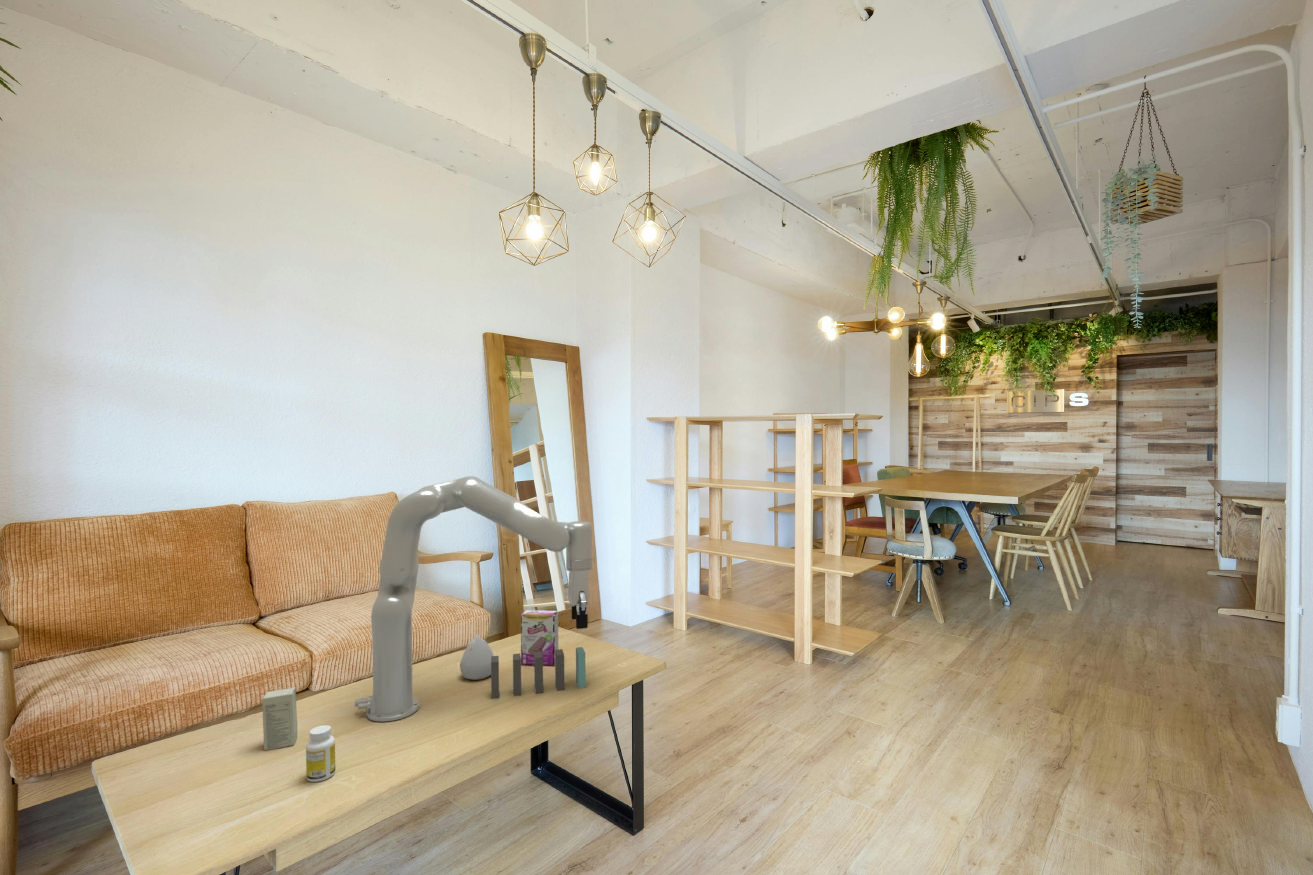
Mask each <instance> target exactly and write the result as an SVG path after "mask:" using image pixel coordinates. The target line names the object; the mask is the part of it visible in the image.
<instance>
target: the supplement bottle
mask: <svg viewBox="0 0 1313 875" xmlns="http://www.w3.org/2000/svg"><path fill="white" fill-rule="evenodd" d="M305 760H306V761H305V762H306V763H305V766H306V773H305V774H306V780H307V781H308V782H310V783H311V782H312V783H316V782H317V783H318V782H322V781H325V780H327V779H329V778H331V777H333V776H334V774H335V773H336V739H335V737H334V736H333V735H332V727H331V725H328V724H327V725H323V724H322V725H319V726H316V727H313V728H312V729H311V730H309V740H308V741H307V743H306V746H305Z"/></svg>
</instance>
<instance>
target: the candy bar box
mask: <svg viewBox="0 0 1313 875" xmlns="http://www.w3.org/2000/svg"><path fill="white" fill-rule="evenodd" d="M558 649H559V611H558V610H539V609H538V610H537V609H532V610H531V609H525V610H524V611H523V612H522V613H521V614H520V656H521V666H534V652H539V651H541V652H542V656H543V667H545V666H547V667H548V666H550V667H551V666H552V667H555V650H558Z"/></svg>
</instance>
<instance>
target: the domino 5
mask: <svg viewBox="0 0 1313 875" xmlns="http://www.w3.org/2000/svg"><path fill="white" fill-rule="evenodd" d="M586 677H587V676H586V651H585V649H584V647H583V646H579V647H578V646H577V647H575V682H576V685H577V688H578V689H583V688H587V686H586V682H587V681H586Z"/></svg>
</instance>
